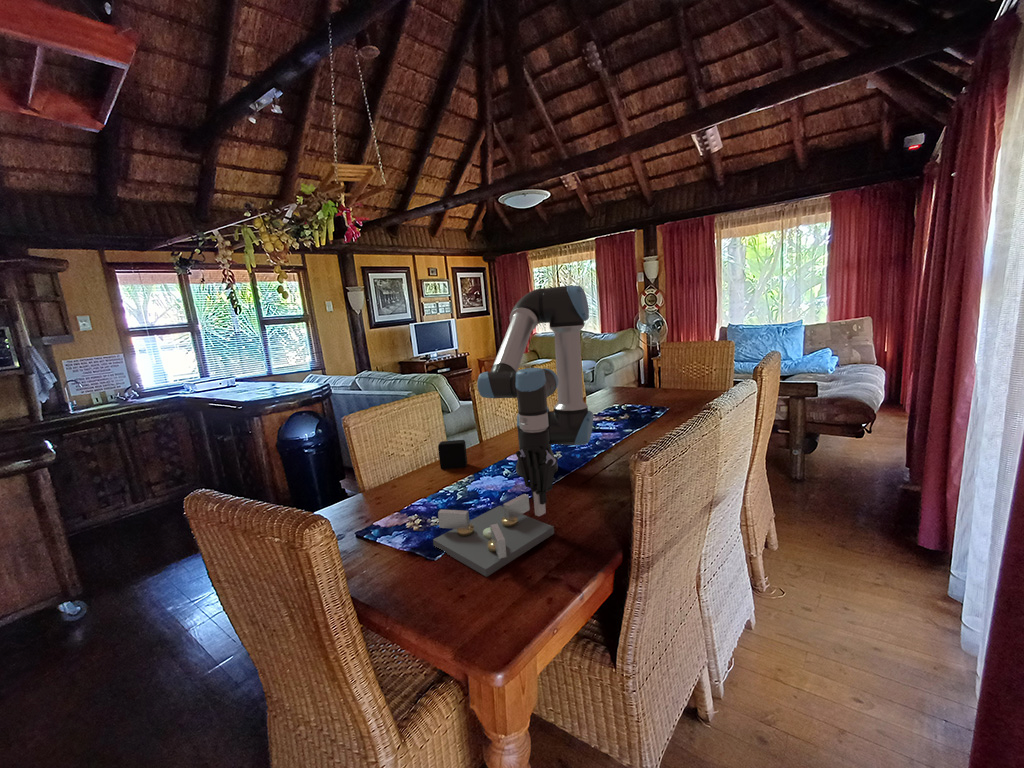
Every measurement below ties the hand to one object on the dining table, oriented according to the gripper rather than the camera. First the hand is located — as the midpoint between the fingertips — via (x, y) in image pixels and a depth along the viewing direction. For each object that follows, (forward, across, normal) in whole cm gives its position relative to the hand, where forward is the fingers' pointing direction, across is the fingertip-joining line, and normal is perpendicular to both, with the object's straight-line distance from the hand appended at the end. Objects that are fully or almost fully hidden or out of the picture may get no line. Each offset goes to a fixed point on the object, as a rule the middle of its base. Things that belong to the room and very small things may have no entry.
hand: (540, 513), depth 119 cm
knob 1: (+3, -15, -17) cm, 23 cm away
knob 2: (+3, +1, -17) cm, 17 cm away
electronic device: (+5, -60, +16) cm, 62 cm away
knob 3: (+3, -7, -2) cm, 8 cm away
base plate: (+5, -7, -11) cm, 14 cm away
